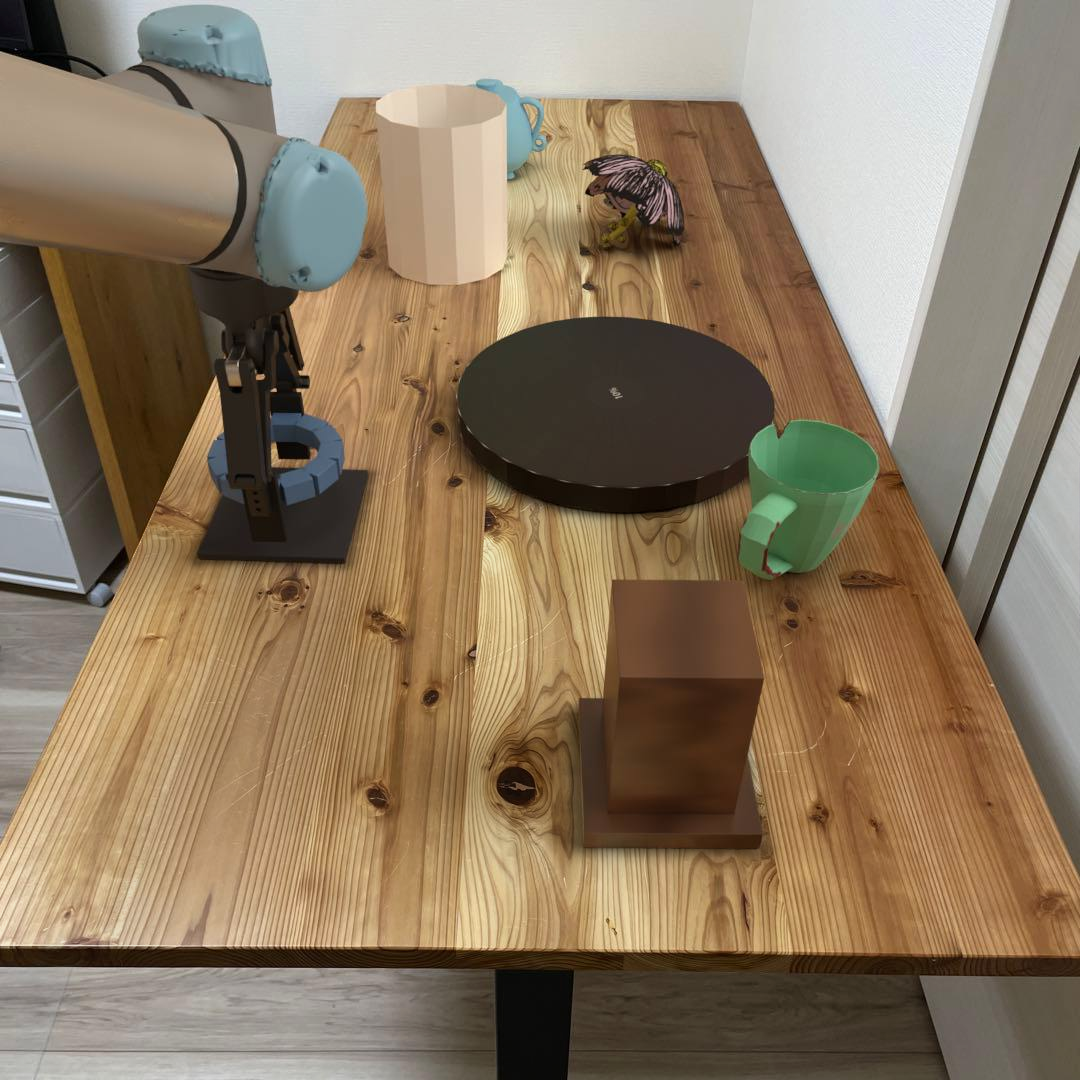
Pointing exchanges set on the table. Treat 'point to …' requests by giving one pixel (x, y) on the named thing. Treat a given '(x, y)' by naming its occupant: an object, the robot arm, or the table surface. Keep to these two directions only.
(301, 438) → the ring
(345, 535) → the mat
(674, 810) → the stand
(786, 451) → the mug
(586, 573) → the table surface
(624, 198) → the decorative flower
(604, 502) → the disc
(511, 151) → the teapot
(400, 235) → the container
